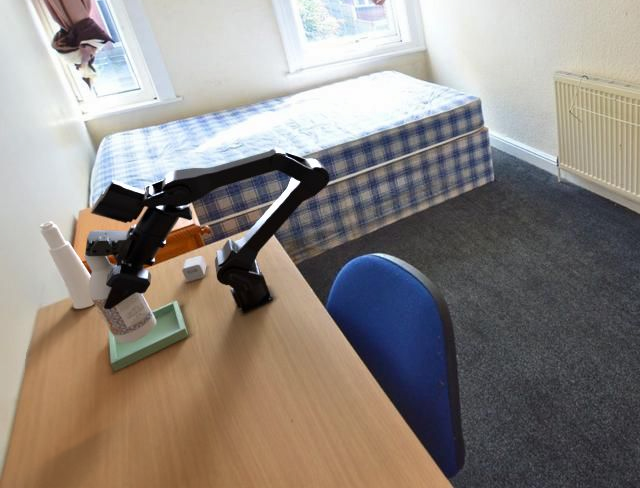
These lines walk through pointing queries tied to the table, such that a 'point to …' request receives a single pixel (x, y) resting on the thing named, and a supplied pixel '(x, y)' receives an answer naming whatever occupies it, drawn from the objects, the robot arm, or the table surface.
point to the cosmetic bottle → (68, 266)
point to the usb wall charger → (194, 268)
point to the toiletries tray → (150, 337)
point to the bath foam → (119, 305)
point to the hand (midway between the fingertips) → (109, 298)
